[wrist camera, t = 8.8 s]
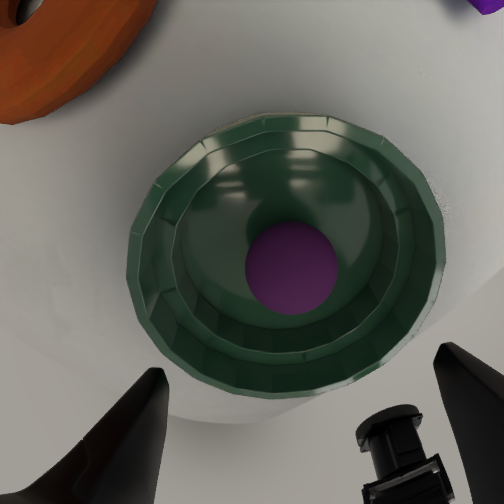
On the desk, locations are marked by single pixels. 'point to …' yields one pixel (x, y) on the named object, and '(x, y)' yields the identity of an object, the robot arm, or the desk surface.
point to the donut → (61, 51)
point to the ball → (291, 268)
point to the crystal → (487, 5)
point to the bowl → (262, 217)
